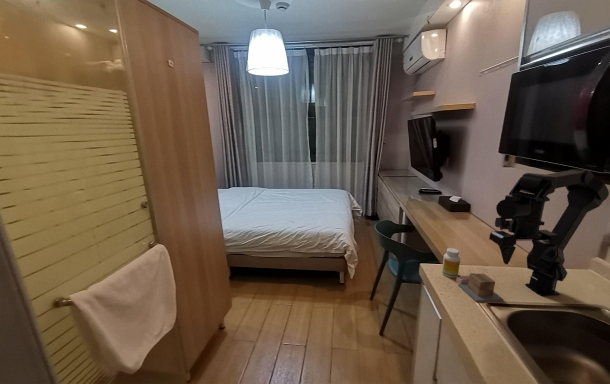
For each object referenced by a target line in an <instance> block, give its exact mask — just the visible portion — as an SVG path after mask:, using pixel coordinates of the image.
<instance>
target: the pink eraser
mask: <svg viewBox="0 0 610 384" xmlns="http://www.w3.org/2000/svg"><path fill="white" fill-rule="evenodd" d="M469 277H470V276H466V275H464V276H463V275H462V276H457V277H456V278H455V283H457V284H468V283H469Z"/></svg>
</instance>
